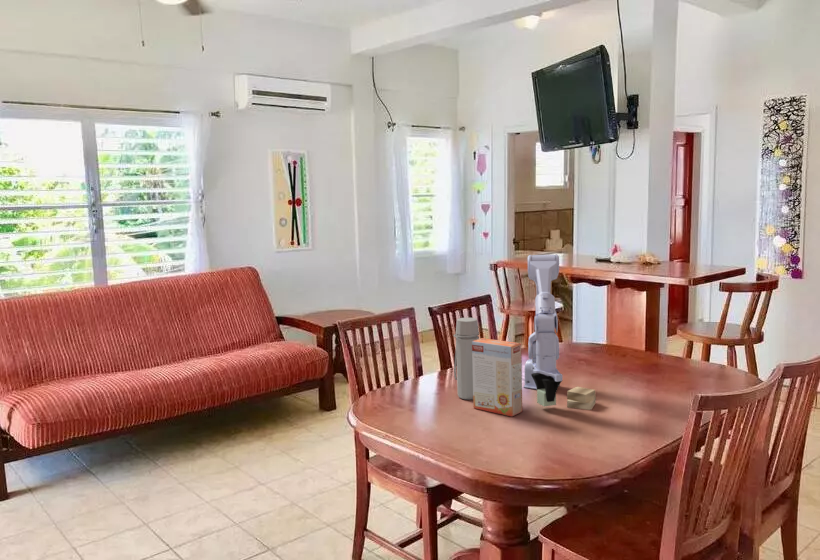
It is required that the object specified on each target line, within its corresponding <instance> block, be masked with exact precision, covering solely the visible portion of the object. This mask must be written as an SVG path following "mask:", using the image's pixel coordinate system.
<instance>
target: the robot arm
mask: <svg viewBox="0 0 820 560" xmlns="http://www.w3.org/2000/svg"><path fill="white" fill-rule="evenodd" d="M559 273H560V256H559V255H558V253H557V254H529V255H528V256H527V277H528V279H529V280H530V281H533V282H534V284H535V286H536V296H535V301H534V303H535V305H534V306H535V315H534V331H533V333H531V334H530V335H529V336H528V342H527V343H528V345H527V346H528V349H527V350H528V359H527V360H526V362H525V365H524V385H523V388H526V389H531V390H536V391H537V390H538V389H545V392H546V399H547V402H551V401H554V399H555V395H556V396H557V391H558V389H559V386H560V385H561V383H562V382H563V374H562V373H560V371H559V369H557V361H558V359H560V342H559V337H558V335H557V333H558V330H559V329H558V328H559V327H558V326H559V324H558V323H559V321H558V315H557V310H556V301H555V300H556V297H555V296H554V295H553V294H552V293H551V286H552V281H554V280H557V279H558V276H559Z"/></svg>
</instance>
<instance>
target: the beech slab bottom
mask: <svg viewBox="0 0 820 560" xmlns="http://www.w3.org/2000/svg"><path fill="white" fill-rule="evenodd" d="M596 402H597V401H596V396H595V398H594V399H592V400H590V401H588V402H586V403H583V402H578V401H573V400H569V399H567V401H566V407H567V408H569V409H577V410H578V409H579V410H587V411H591V410H593V408H594V406H595V404H596Z"/></svg>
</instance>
